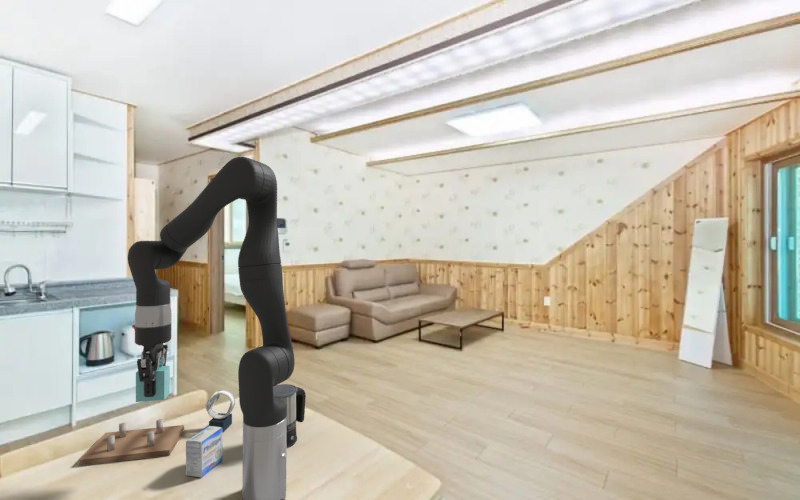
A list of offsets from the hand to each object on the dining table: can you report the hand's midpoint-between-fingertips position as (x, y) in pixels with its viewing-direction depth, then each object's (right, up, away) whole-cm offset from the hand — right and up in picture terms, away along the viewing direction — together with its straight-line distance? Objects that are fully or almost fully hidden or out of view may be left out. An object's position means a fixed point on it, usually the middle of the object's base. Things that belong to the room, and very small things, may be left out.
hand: (153, 392), depth 94 cm
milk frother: (+24, -20, +18) cm, 35 cm away
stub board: (-12, -19, +11) cm, 24 cm away
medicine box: (+12, -20, +2) cm, 23 cm away
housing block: (0, -1, 0) cm, 1 cm away
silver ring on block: (+6, -19, +22) cm, 30 cm away
